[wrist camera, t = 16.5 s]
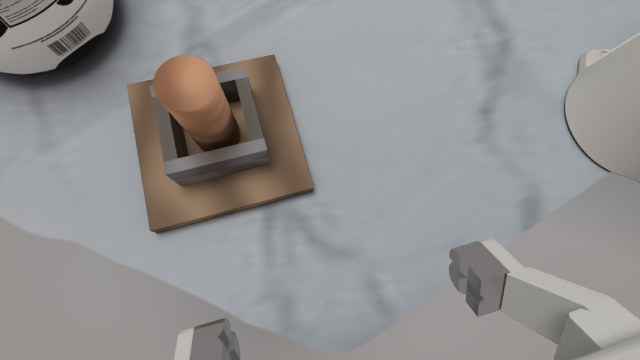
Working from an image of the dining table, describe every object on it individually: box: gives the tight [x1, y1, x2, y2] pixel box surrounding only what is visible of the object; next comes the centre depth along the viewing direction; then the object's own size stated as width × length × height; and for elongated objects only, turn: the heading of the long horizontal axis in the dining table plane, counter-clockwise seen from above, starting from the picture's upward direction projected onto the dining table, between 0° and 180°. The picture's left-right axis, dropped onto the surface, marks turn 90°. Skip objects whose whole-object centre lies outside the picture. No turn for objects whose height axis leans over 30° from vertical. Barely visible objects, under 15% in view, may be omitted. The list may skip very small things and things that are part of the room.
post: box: [153, 55, 241, 152], centre depth 29 cm, size 4×4×10 cm
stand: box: [127, 55, 313, 233], centre depth 32 cm, size 16×16×6 cm
